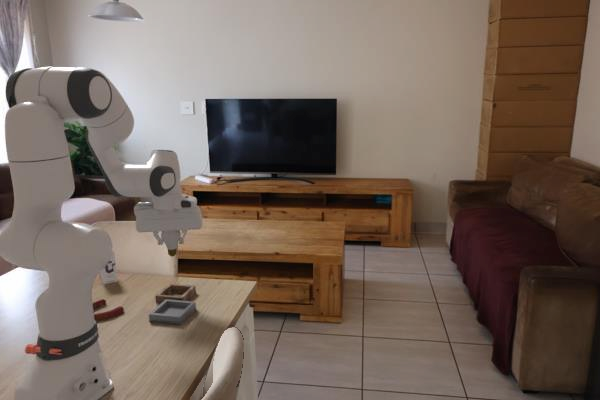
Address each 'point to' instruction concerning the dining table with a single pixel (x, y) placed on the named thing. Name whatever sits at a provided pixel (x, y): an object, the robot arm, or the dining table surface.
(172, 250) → the light bulb
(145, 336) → the dining table surface
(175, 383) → the dining table surface
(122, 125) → the robot arm
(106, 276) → the ink box
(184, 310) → the tray
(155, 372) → the dining table surface
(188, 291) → the frame
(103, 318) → the pliers
